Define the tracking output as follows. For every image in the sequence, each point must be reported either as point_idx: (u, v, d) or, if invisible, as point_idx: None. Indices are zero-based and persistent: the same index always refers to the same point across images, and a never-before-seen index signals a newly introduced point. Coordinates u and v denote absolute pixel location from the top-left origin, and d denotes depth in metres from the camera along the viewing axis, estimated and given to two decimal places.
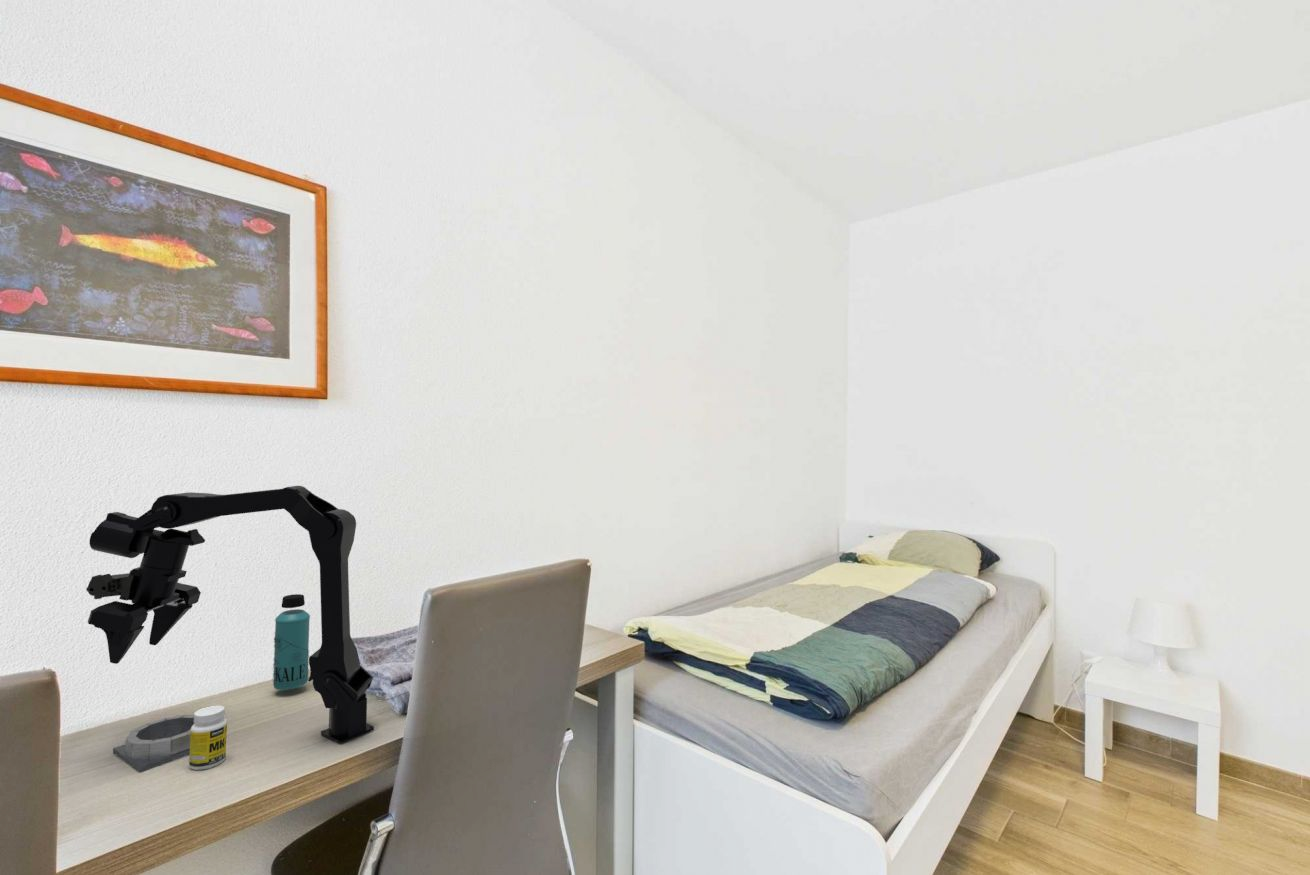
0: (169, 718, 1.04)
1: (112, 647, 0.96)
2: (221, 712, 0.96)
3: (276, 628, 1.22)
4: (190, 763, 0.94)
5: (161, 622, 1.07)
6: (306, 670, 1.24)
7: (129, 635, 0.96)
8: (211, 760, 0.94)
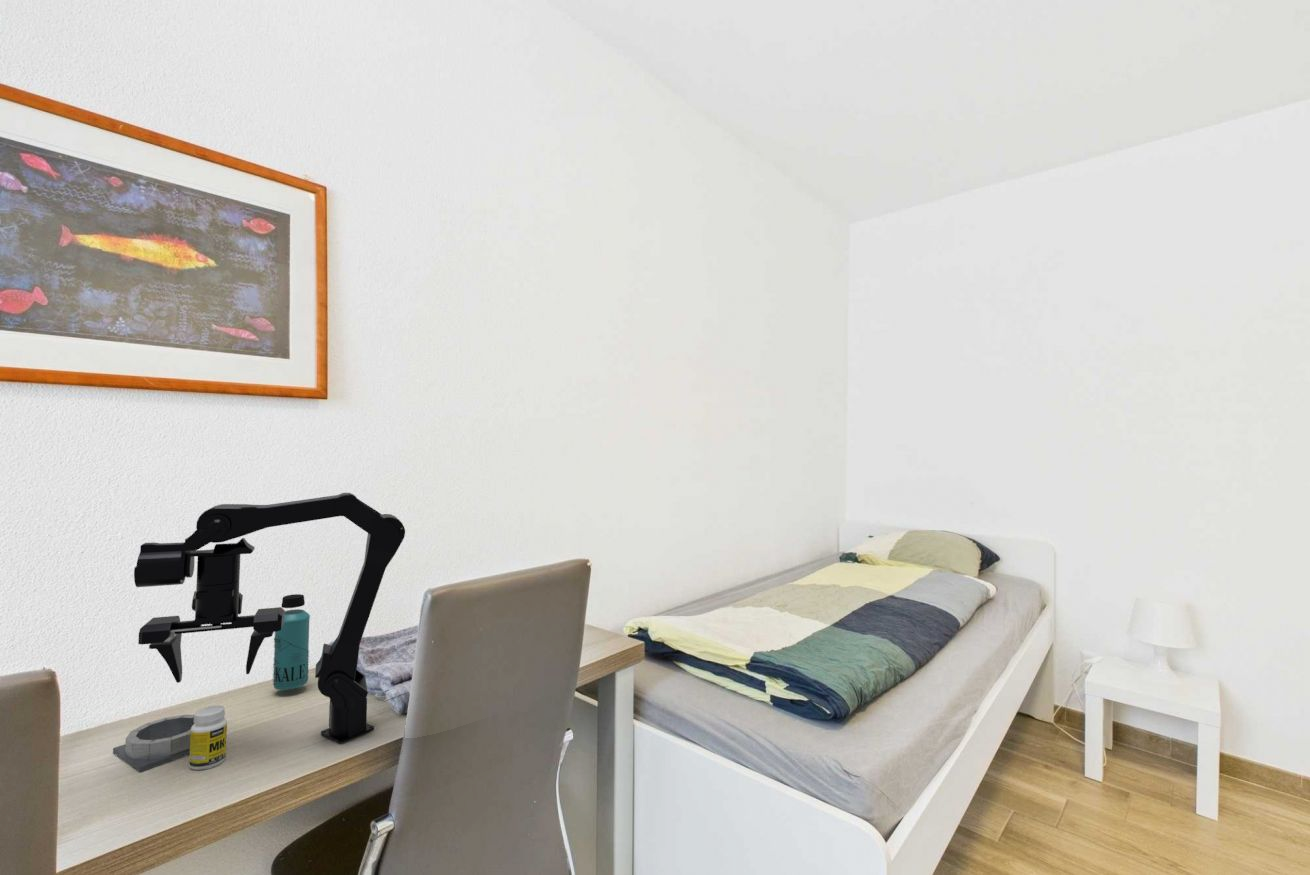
0: (169, 718, 1.04)
1: None
2: (221, 712, 0.96)
3: None
4: (190, 763, 0.94)
5: None
6: (306, 670, 1.24)
7: None
8: (211, 760, 0.94)
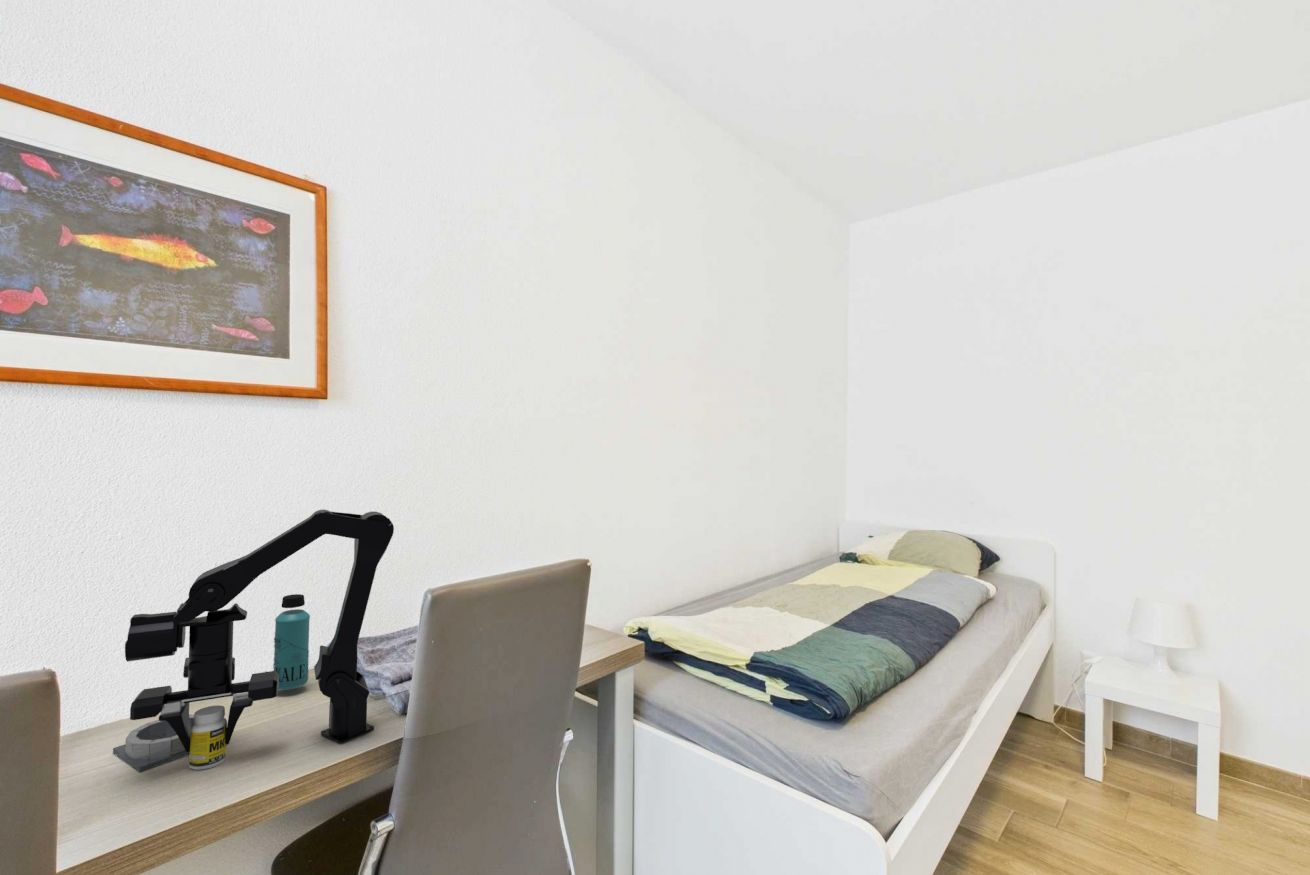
0: None
1: None
2: (221, 712, 0.96)
3: (276, 628, 1.22)
4: (190, 763, 0.94)
5: None
6: (306, 670, 1.24)
7: None
8: (211, 760, 0.94)
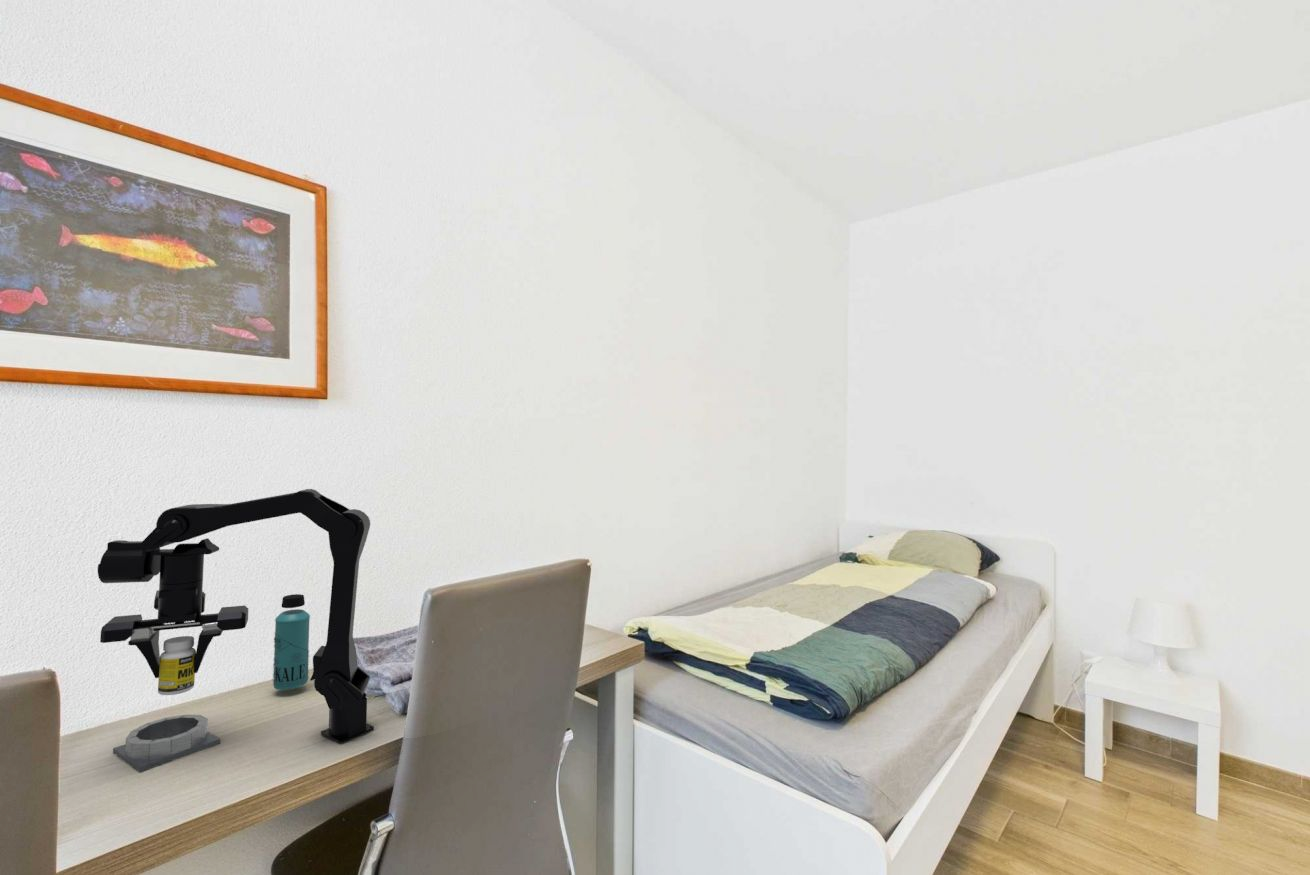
0: (169, 718, 1.04)
1: None
2: (190, 641, 0.99)
3: (276, 628, 1.22)
4: (159, 689, 0.97)
5: None
6: (306, 670, 1.24)
7: None
8: (179, 686, 0.97)
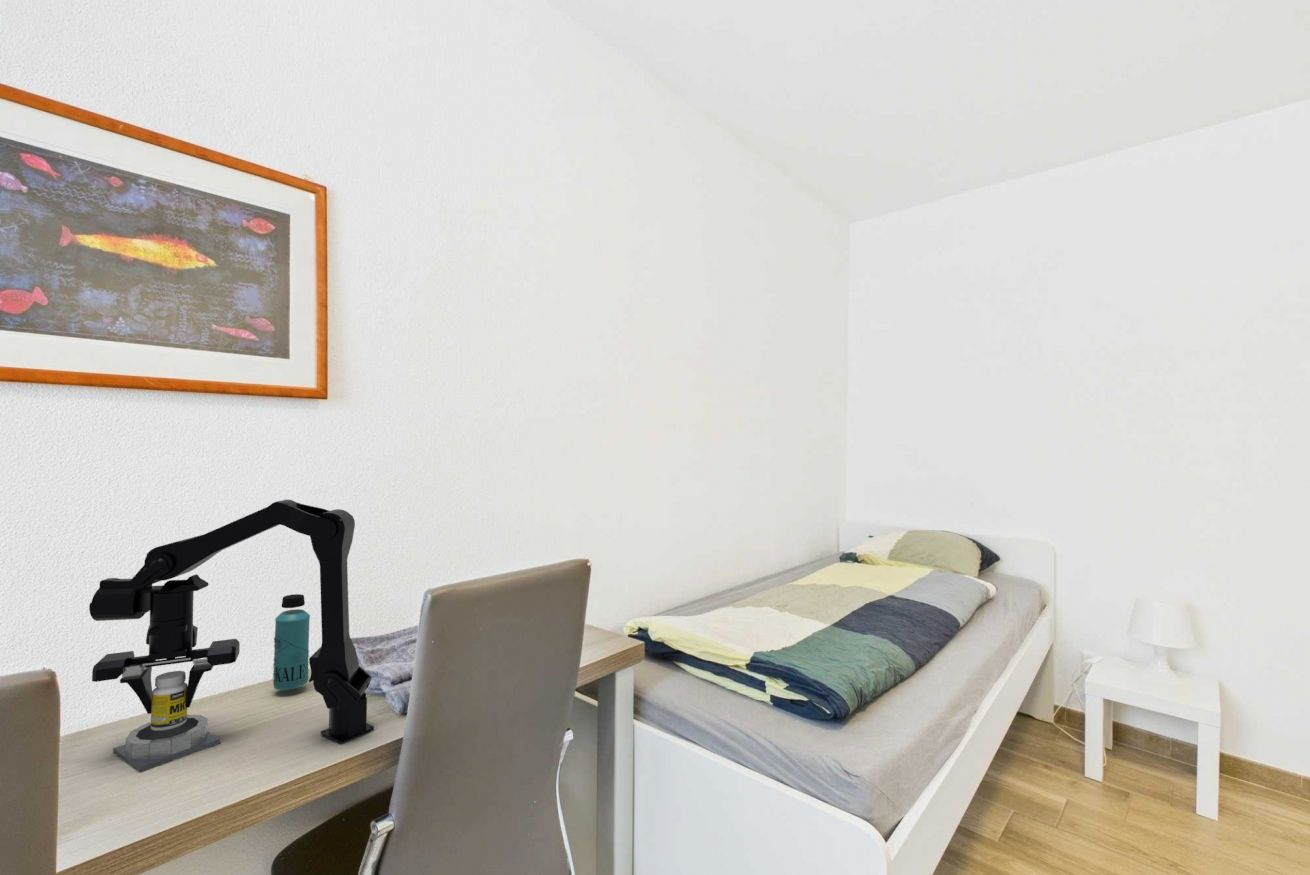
0: None
1: None
2: (181, 676, 1.00)
3: (276, 628, 1.22)
4: (151, 724, 0.98)
5: None
6: (306, 670, 1.24)
7: None
8: (171, 721, 0.99)
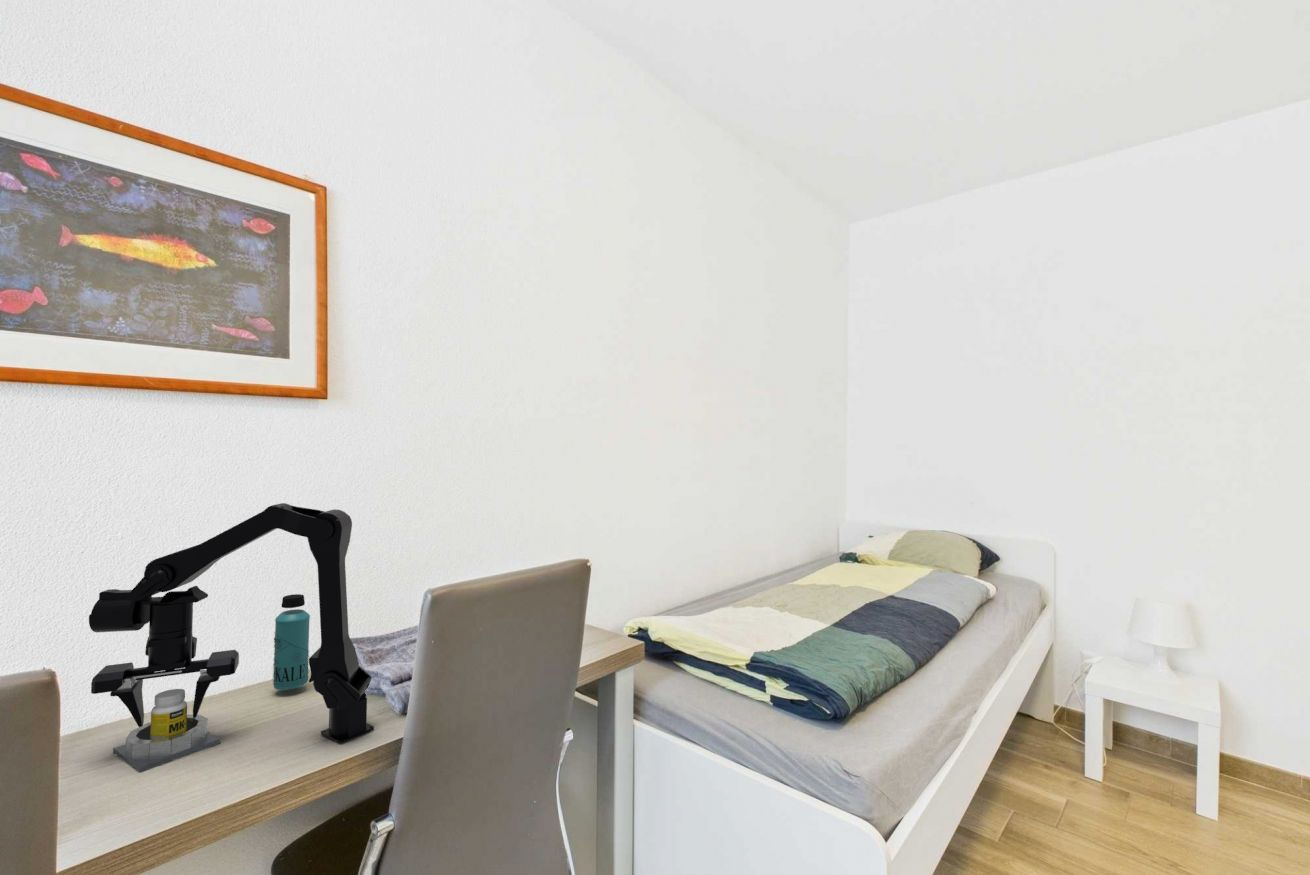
0: None
1: None
2: (181, 695, 1.00)
3: (276, 628, 1.22)
4: None
5: None
6: (306, 670, 1.24)
7: None
8: None
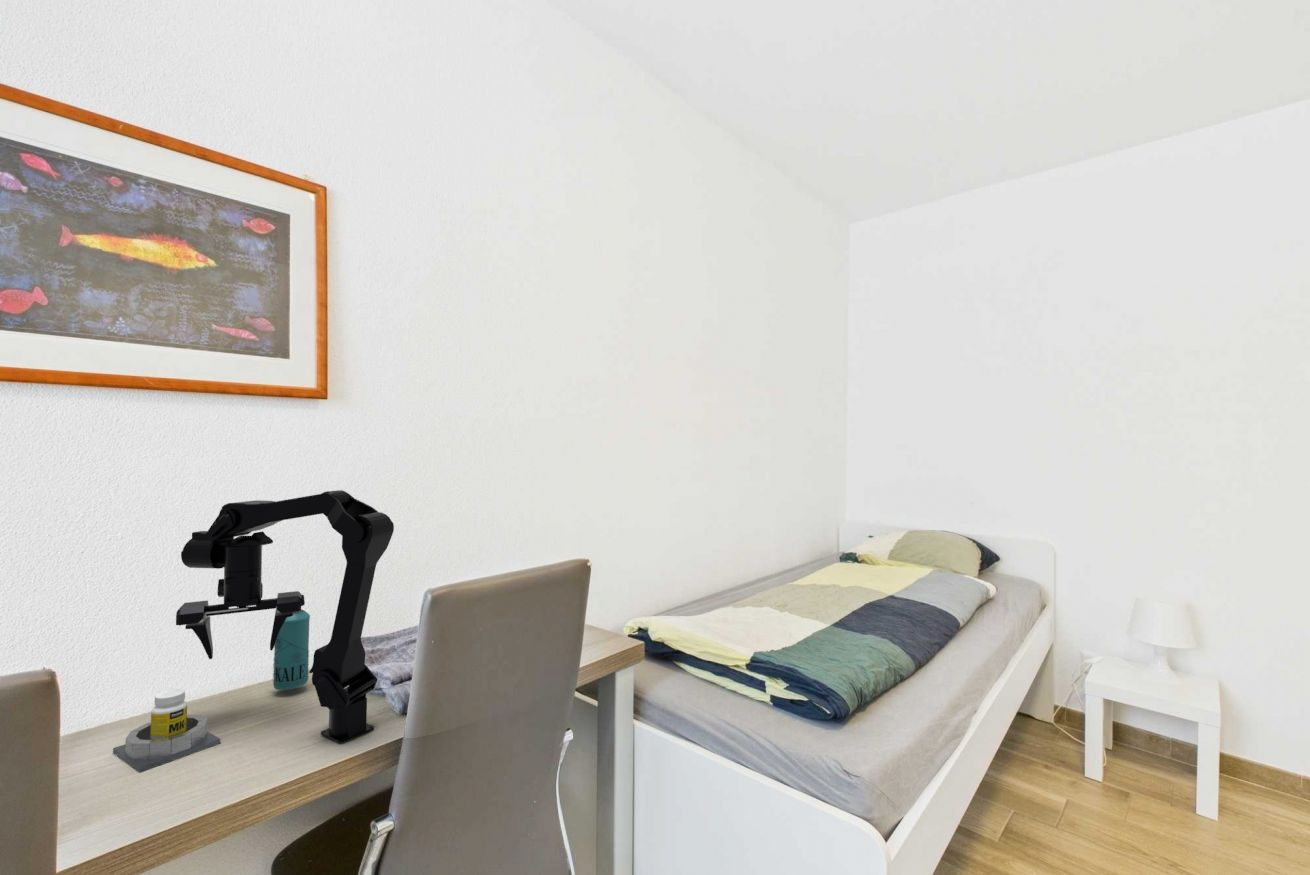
0: None
1: None
2: (181, 695, 1.00)
3: None
4: None
5: None
6: (306, 670, 1.24)
7: None
8: None
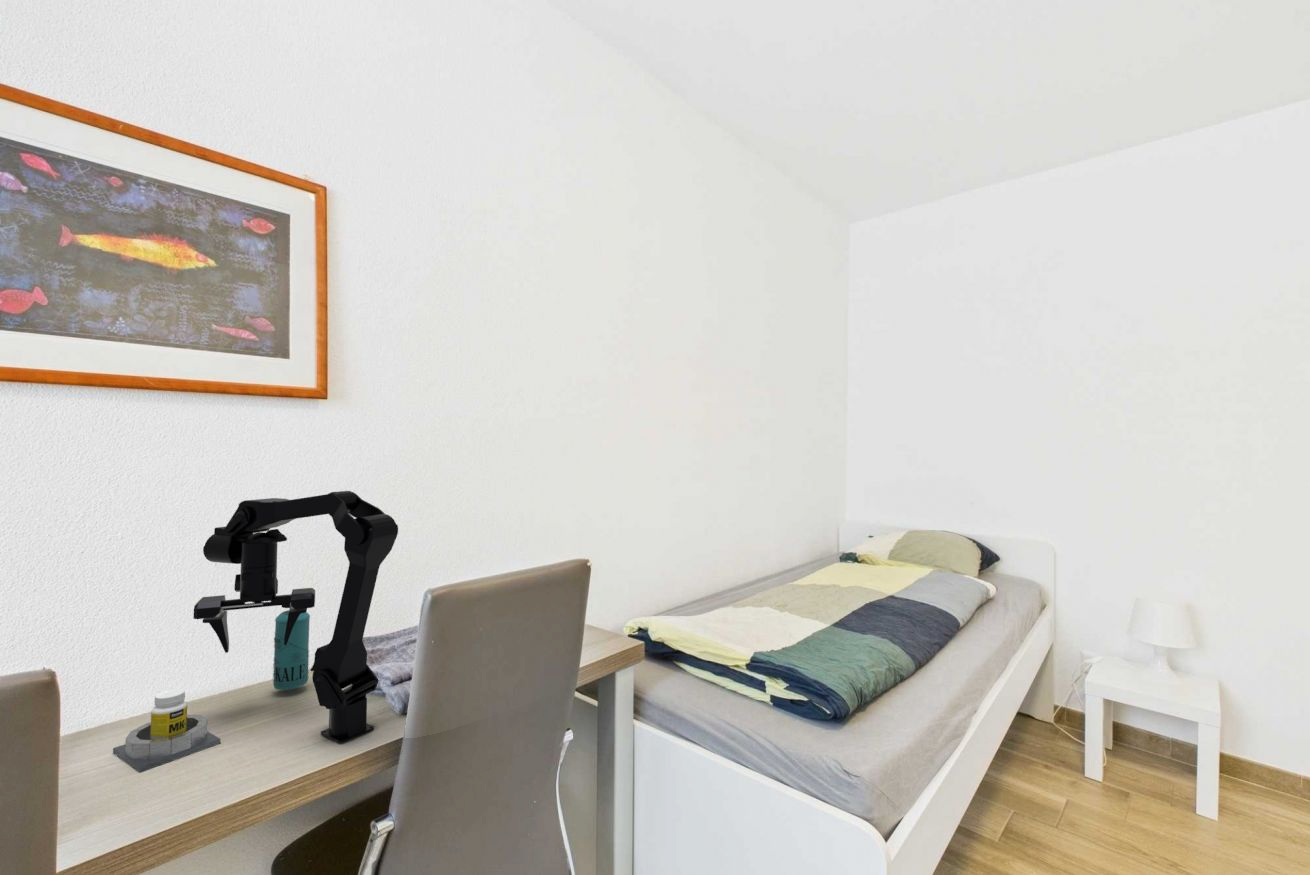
0: None
1: None
2: (181, 695, 1.00)
3: (276, 628, 1.22)
4: None
5: None
6: (306, 670, 1.24)
7: None
8: None
